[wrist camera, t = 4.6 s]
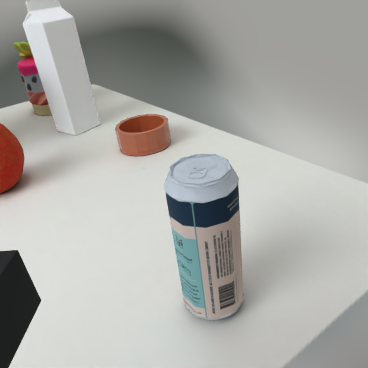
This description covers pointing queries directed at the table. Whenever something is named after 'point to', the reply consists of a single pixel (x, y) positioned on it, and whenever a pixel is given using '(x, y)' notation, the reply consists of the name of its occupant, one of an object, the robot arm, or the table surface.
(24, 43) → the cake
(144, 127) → the holder
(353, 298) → the table surface
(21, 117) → the table surface
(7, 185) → the apple
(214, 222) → the beer can
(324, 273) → the table surface
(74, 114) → the milk
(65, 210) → the table surface
